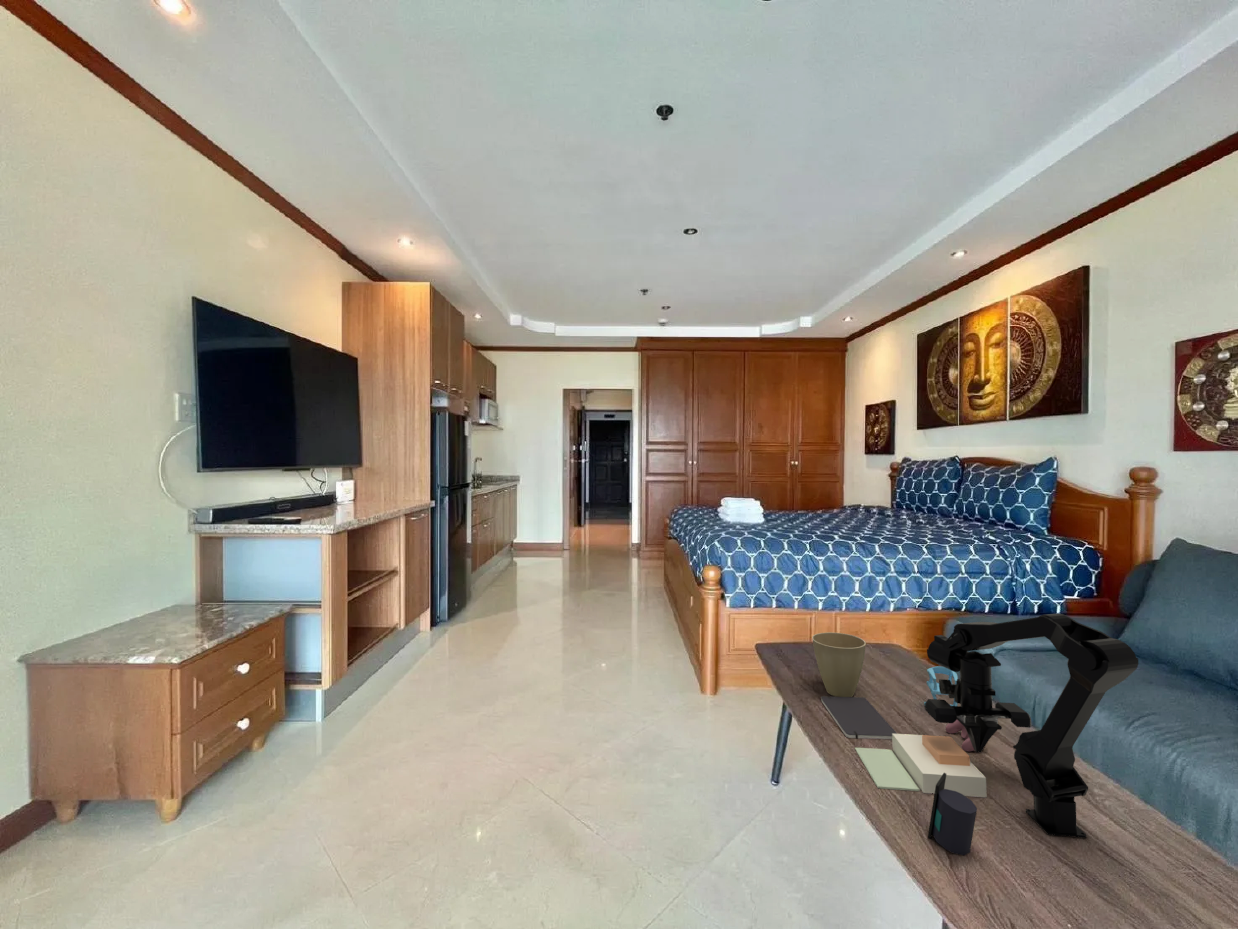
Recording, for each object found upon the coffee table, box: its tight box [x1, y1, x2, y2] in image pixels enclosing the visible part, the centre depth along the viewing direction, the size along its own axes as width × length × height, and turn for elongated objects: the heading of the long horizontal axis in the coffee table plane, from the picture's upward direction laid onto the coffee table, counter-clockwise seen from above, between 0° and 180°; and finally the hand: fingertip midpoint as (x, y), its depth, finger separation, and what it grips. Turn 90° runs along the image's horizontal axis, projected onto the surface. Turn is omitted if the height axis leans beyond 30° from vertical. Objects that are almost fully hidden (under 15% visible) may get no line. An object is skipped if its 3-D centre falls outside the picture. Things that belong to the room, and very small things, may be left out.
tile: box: [921, 734, 971, 766], centre depth 110 cm, size 8×6×2 cm
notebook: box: [820, 695, 898, 740], centre depth 135 cm, size 13×2×21 cm
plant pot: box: [811, 632, 867, 697], centre depth 150 cm, size 15×15×16 cm
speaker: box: [927, 773, 978, 856], centre depth 90 cm, size 8×6×10 cm
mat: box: [854, 747, 921, 792], centre depth 112 cm, size 15×8×1 cm, turn 172°
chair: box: [923, 665, 959, 706], centre depth 137 cm, size 8×8×12 cm
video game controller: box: [945, 720, 975, 752], centre depth 122 cm, size 10×5×7 cm, turn 169°
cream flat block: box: [891, 733, 988, 798], centre depth 110 cm, size 16×12×4 cm
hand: (977, 751), depth 109 cm, fingers closed
